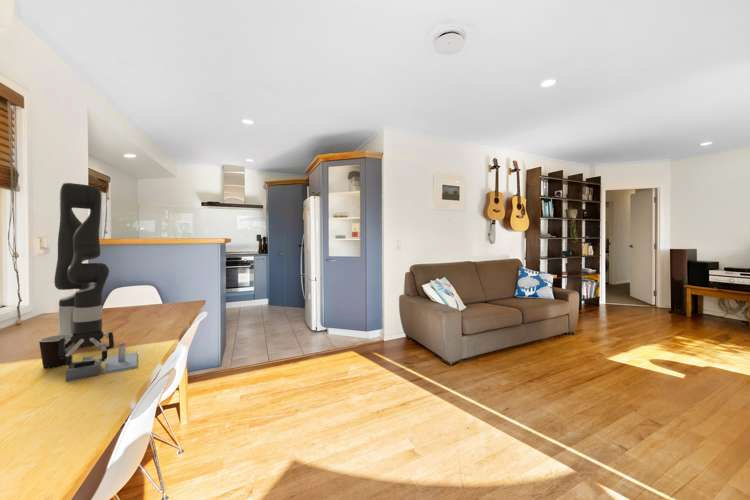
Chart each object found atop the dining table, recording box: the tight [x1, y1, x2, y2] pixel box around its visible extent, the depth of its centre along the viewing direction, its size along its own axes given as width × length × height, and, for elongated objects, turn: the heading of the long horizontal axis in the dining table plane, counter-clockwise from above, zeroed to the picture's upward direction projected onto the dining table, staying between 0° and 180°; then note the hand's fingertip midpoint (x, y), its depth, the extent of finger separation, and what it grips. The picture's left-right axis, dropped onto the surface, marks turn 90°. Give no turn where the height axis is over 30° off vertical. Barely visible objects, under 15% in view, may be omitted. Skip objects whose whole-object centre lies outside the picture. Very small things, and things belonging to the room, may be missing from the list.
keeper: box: [103, 342, 138, 375], centre depth 111 cm, size 16×9×8 cm, turn 39°
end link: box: [65, 355, 103, 382], centre depth 103 cm, size 14×8×4 cm, turn 39°
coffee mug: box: [38, 334, 73, 370], centre depth 109 cm, size 12×9×10 cm
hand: (87, 363), depth 106 cm, fingers open, 8 cm apart
